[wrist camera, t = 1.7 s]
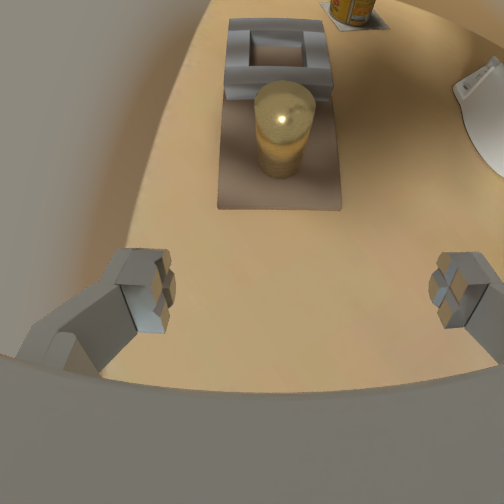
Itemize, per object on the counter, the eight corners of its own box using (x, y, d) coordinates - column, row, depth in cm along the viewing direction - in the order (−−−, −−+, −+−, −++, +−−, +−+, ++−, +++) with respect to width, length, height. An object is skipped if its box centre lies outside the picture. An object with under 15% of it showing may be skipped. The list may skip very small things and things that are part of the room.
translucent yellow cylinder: (277, 132, 31) (281, 71, 21) (310, 158, 31) (327, 103, 21) (248, 160, 31) (241, 104, 21) (281, 188, 30) (288, 140, 20)
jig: (229, 38, 35) (226, 17, 31) (320, 39, 34) (324, 19, 30) (218, 209, 31) (212, 197, 27) (339, 210, 31) (349, 199, 27)
